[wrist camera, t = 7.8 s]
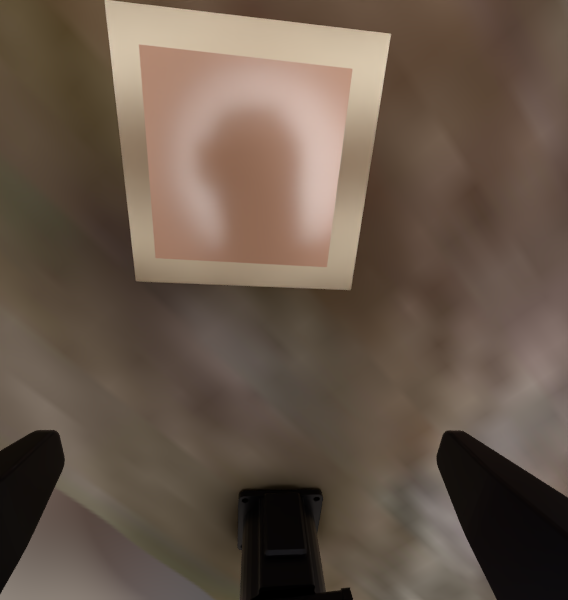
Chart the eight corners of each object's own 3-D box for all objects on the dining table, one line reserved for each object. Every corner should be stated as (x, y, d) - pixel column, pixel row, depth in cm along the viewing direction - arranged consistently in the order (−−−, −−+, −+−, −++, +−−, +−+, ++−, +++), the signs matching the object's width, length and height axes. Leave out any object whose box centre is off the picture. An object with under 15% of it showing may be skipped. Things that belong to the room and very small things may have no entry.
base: (336, 271, 18) (350, 290, 15) (155, 263, 17) (135, 281, 14) (365, 60, 14) (390, 33, 12) (136, 34, 13) (104, -1, 11)
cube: (304, 235, 14) (327, 267, 10) (190, 228, 14) (155, 258, 9) (317, 106, 12) (352, 68, 8) (185, 93, 12) (138, 44, 7)
